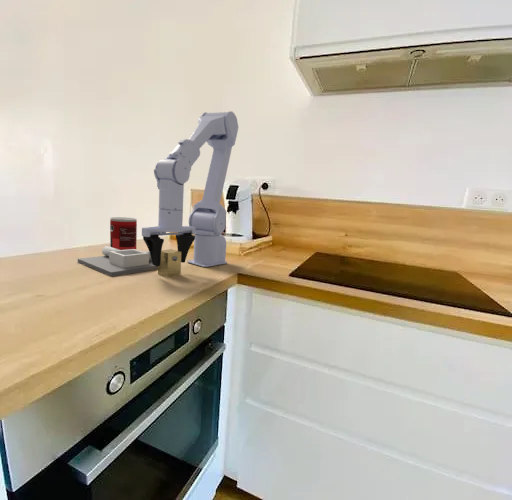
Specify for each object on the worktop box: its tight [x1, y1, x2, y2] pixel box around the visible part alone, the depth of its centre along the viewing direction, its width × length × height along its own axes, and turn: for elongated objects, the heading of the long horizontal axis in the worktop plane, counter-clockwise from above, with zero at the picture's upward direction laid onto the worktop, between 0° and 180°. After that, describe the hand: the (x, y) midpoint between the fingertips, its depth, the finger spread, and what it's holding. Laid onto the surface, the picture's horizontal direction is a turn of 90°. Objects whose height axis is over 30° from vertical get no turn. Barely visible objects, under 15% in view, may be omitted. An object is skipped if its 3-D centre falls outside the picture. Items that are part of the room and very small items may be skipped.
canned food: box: [109, 216, 138, 250], centre depth 102 cm, size 8×8×11 cm
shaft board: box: [77, 245, 158, 277], centre depth 87 cm, size 18×18×4 cm
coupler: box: [157, 248, 182, 278], centre depth 80 cm, size 4×5×6 cm
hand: (169, 263), depth 80 cm, fingers open, 7 cm apart
